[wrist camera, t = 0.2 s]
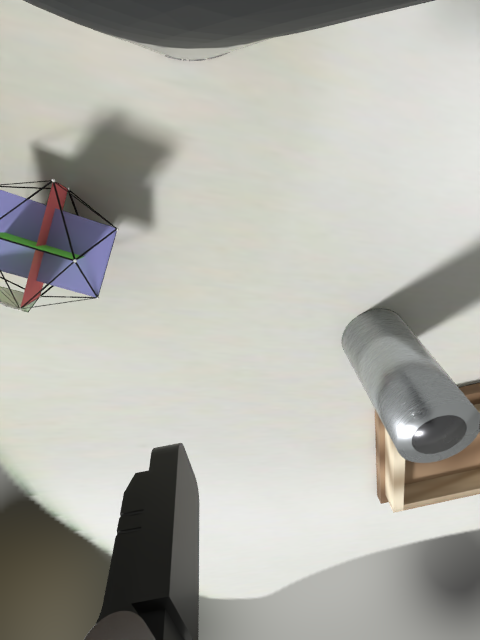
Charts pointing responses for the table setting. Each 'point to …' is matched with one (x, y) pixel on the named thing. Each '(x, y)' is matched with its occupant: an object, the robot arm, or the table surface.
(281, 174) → the table surface
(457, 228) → the table surface
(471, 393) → the wooden tray
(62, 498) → the table surface
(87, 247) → the geometric puzzle
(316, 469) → the table surface
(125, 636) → the robot arm
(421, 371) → the steel tube
